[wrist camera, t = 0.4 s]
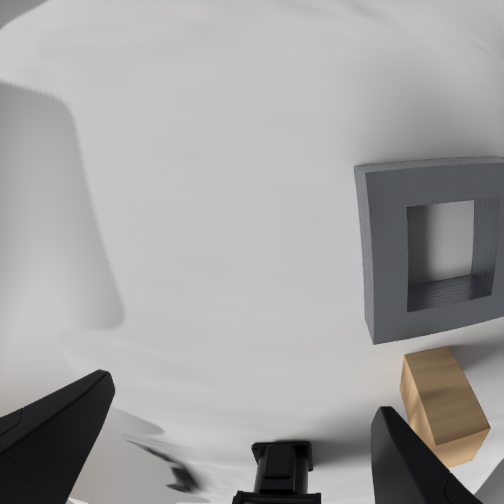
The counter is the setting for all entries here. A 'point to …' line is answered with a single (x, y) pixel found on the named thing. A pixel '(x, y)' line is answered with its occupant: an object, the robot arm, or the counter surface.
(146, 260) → the counter surface
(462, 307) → the block
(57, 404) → the robot arm
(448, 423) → the oak peg
